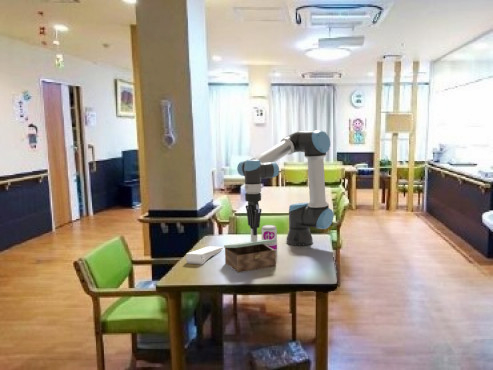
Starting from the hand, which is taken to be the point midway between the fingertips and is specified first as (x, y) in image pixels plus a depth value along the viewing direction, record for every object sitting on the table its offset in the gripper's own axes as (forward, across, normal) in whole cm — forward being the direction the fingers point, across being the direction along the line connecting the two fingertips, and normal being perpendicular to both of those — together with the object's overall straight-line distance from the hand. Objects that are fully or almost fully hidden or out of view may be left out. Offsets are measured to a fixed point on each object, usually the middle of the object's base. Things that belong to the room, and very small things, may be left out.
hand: (254, 241), depth 208 cm
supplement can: (+13, -17, +17) cm, 28 cm away
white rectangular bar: (+14, -30, -15) cm, 36 cm away
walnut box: (+13, -5, 0) cm, 14 cm away
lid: (+3, -5, 0) cm, 6 cm away
